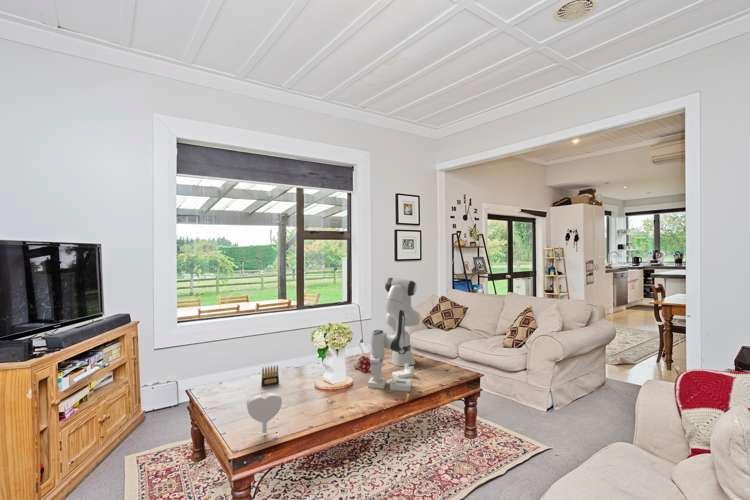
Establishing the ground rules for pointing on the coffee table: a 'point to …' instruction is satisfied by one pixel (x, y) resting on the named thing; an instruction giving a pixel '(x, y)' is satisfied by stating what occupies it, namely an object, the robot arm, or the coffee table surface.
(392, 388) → the port
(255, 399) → the heart sculpture
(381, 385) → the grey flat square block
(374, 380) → the plug
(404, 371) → the bracket
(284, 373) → the coffee table surface
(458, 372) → the coffee table surface
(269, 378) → the ammunition clip
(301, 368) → the coffee table surface
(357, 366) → the dark red lumpy cluster
